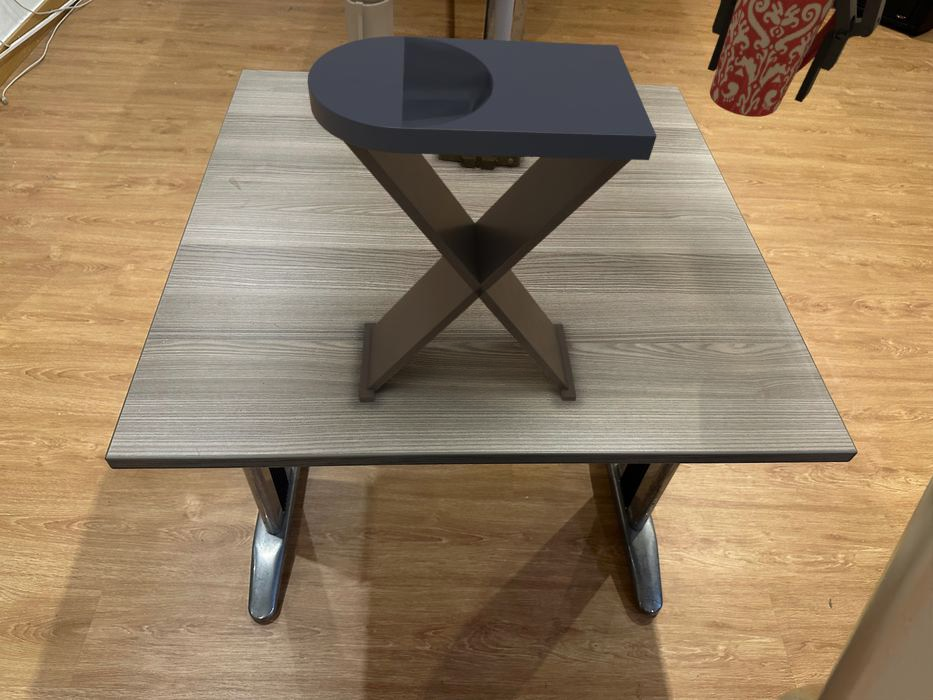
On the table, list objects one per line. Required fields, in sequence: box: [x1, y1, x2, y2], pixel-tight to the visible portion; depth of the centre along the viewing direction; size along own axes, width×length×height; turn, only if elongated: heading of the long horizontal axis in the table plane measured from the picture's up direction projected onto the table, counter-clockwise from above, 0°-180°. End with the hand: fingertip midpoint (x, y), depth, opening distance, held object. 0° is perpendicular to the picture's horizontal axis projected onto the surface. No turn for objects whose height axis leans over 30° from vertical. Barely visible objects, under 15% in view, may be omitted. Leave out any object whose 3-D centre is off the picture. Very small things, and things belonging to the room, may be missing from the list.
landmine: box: [438, 154, 522, 170], centre depth 104 cm, size 14×3×15 cm
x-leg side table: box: [307, 35, 658, 402], centre depth 62 cm, size 26×14×34 cm, turn 93°
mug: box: [709, 0, 836, 118], centre depth 65 cm, size 13×9×14 cm
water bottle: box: [343, 0, 395, 43], centre depth 98 cm, size 9×8×25 cm
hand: (757, 80), depth 69 cm, fingers closed on mug, 9 cm apart
